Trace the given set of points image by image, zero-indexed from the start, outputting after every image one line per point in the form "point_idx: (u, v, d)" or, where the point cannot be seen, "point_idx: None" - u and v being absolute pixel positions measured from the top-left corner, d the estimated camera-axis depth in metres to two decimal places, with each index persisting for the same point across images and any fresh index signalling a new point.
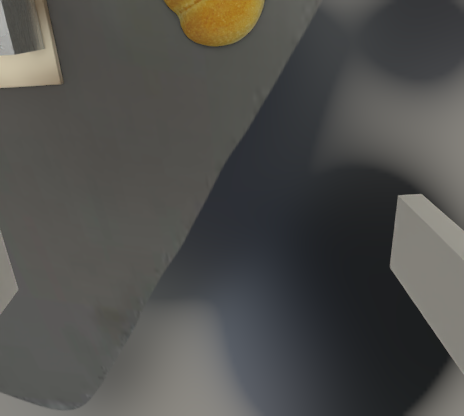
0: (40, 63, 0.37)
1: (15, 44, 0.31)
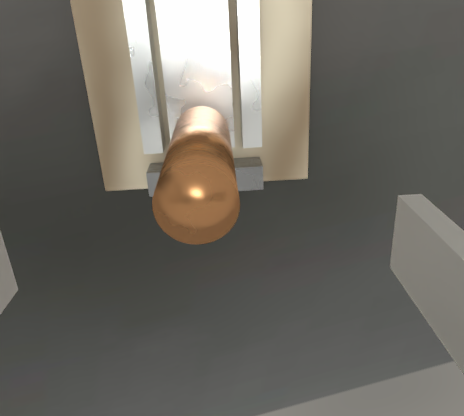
0: None
1: None
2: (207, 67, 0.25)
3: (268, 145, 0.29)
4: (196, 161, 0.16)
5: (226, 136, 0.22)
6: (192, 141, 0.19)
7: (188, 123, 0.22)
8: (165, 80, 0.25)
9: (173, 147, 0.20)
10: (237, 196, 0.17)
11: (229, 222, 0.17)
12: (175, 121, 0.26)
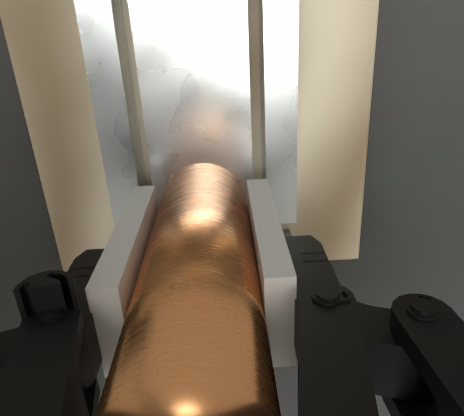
0: None
1: None
2: (213, 105, 0.16)
3: (302, 213, 0.19)
4: (187, 366, 0.07)
5: (245, 230, 0.13)
6: (183, 271, 0.10)
7: (180, 207, 0.13)
8: (147, 124, 0.16)
9: (148, 276, 0.10)
10: None
11: None
12: (163, 185, 0.17)
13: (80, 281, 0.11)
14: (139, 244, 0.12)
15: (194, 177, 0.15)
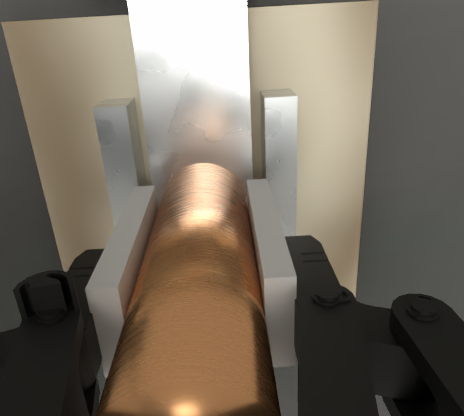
0: (326, 42, 0.17)
1: None
2: (212, 105, 0.16)
3: None
4: (186, 366, 0.07)
5: (245, 229, 0.13)
6: (183, 272, 0.10)
7: (180, 207, 0.13)
8: (146, 124, 0.16)
9: (148, 276, 0.10)
10: None
11: None
12: (163, 185, 0.17)
13: (80, 281, 0.11)
14: (139, 244, 0.12)
15: (194, 177, 0.15)
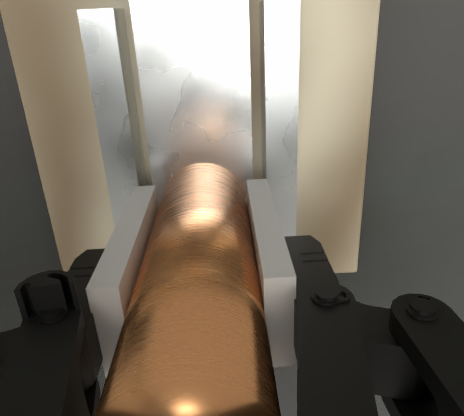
0: None
1: None
2: (213, 105, 0.16)
3: (302, 228, 0.20)
4: (187, 365, 0.07)
5: (245, 229, 0.13)
6: (183, 271, 0.10)
7: (180, 207, 0.13)
8: (147, 124, 0.16)
9: (148, 275, 0.10)
10: None
11: None
12: (163, 185, 0.17)
13: (81, 281, 0.11)
14: (139, 244, 0.12)
15: (194, 177, 0.15)
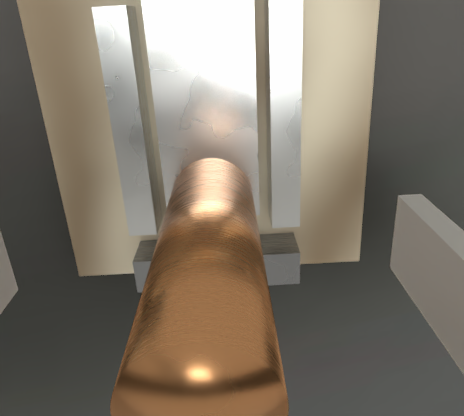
0: None
1: None
2: (221, 103, 0.17)
3: (306, 217, 0.20)
4: (201, 330, 0.08)
5: (251, 219, 0.14)
6: (195, 253, 0.11)
7: (190, 197, 0.14)
8: (158, 121, 0.17)
9: (162, 257, 0.11)
10: (284, 396, 0.08)
11: None
12: (173, 179, 0.18)
13: None
14: None
15: (203, 171, 0.16)
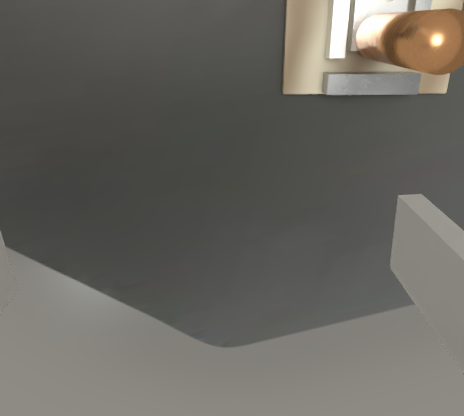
0: None
1: None
2: None
3: None
4: (449, 8, 0.23)
5: None
6: (421, 10, 0.26)
7: (393, 13, 0.29)
8: None
9: (403, 16, 0.26)
10: None
11: (463, 58, 0.24)
12: (358, 25, 0.33)
13: None
14: None
15: (385, 13, 0.32)
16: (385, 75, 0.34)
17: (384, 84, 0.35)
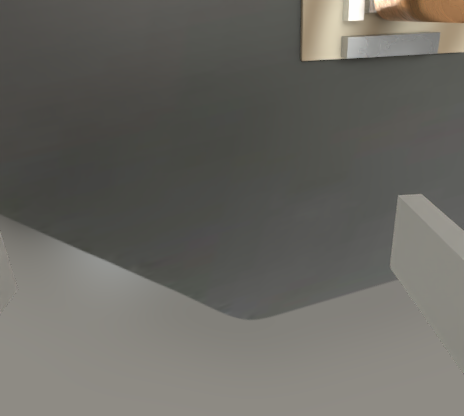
0: None
1: None
2: None
3: None
4: None
5: None
6: None
7: None
8: None
9: None
10: None
11: None
12: None
13: None
14: None
15: None
16: (404, 35, 0.34)
17: (404, 44, 0.35)
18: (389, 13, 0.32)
